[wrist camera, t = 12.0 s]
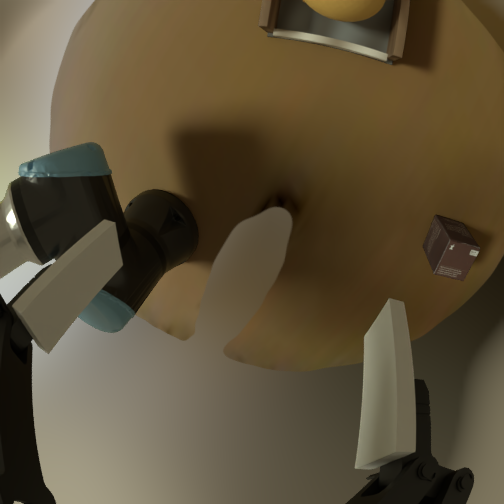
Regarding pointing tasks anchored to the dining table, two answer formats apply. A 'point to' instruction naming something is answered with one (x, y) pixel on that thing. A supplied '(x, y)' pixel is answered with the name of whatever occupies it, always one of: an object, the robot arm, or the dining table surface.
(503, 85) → the dining table surface
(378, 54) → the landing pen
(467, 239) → the box
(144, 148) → the dining table surface
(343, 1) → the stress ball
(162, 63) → the dining table surface
